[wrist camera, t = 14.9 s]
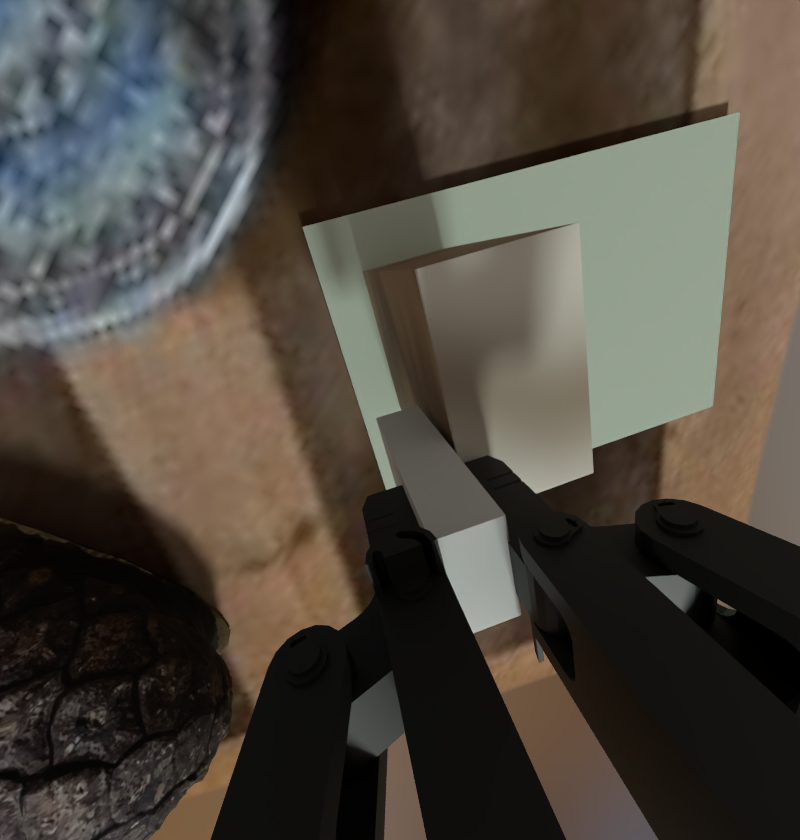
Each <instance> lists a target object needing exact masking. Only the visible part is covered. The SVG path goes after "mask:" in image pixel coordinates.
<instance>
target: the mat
mask: <svg viewBox="0 0 800 840" xmlns="http://www.w3.org/2000/svg"><path fill="white" fill-rule="evenodd" d="M739 114H740V112H738V113H735V114H731V115H727V116H723V117H719V118H716V119H712V120H708V121H704V122H700V123H697V124H693V125H689V126H685V127H681V128H677V129H674V130H670V131H666V132H662V133H658V134H655V135H651V136H647V137H643V138H639V139H636V140H632V141H628V142H624V143H620V144H617V145H613V146H609V147H605V148H601V149H597V150H594V151H590V152H586V153H582V154H578V155H575V156H571V157H567V158H563V159H559V160H556V161H552V162H548V163H544V164H540V165H537V166H533V167H529V168H525V169H521V170H517V171H514V172H510V173H506V174H502V175H498V176H495V177H491V178H487V179H483V180H479V181H476V182H472V183H468V184H464V185H460V186H457V187H453V188H449V189H445V190H441V191H437V192H434V193H430V194H426V195H422V196H418V197H415V198H411V199H407V200H403V201H399V202H396V203H392V204H388V205H384V206H380V207H377V208H373V209H369V210H365V211H361V212H357V213H354V214H350V215H346V216H342V217H338V218H335V219H331V220H327V221H323V222H319V223H316V224H312V225H308V226H304V227H303V231H304V234H305V237H306V240H307V243H308V246H309V250H310V253H311V256H312V259H313V262H314V265H315V268H316V271H317V275H318V278H319V281H320V284H321V287H322V290H323V293H324V297H325V300H326V303H327V306H328V309H329V312H330V315H331V319H332V322H333V325H334V328H335V331H336V334H337V337H338V341H339V344H340V347H341V350H342V353H343V356H344V359H345V363H346V366H347V369H348V372H349V375H350V378H351V381H352V384H353V388H354V391H355V394H356V397H357V400H358V403H359V406H360V410H361V413H362V416H363V419H364V422H365V425H366V428H367V432H368V435H369V438H370V441H371V444H372V447H373V450H374V454H375V457H376V460H377V463H378V466H379V469H380V472H381V475H382V479H383V482H384V485H385V488H386V490H388V489H391V488H394V487H396V485H395V481H394V478H393V475H392V471H391V468H390V464H389V461H388V457H387V454H386V451H385V447H384V444H383V440H382V437H381V433H380V430H379V427H378V423H377V420H376V418H378V417H381V416H384V415H388V414H391V413H394V412H397V411H401V408H400V405H399V402H398V398H397V394H396V391H395V387H394V384H393V380H392V376H391V373H390V369H389V365H388V362H387V358H386V355H385V351H384V347H383V344H382V340H381V337H380V333H379V329H378V326H377V322H376V319H375V315H374V311H373V308H372V304H371V301H370V297H369V293H368V290H367V286H366V283H365V279H364V275H363V271H367V270H370V269H374V268H377V267H381V266H384V265H388V264H391V263H395V262H398V261H402V260H405V259H409V258H412V257H416V256H419V255H423V254H426V253H430V252H433V251H437V250H440V249H444V248H449V247H454V246H459V245H465V244H470V243H475V242H480V241H485V240H490V239H496V238H501V237H506V236H511V235H516V234H522V233H527V232H532V231H537V230H542V229H547V228H553V227H558V226H563V225H568V224H573V223H578V222H579V224H580V242H581V260H582V278H583V295H584V313H585V331H586V349H587V366H588V384H589V402H590V420H591V438H592V448H595V447H598V446H601V445H603V444H606V443H609V442H612V441H615V440H618V439H621V438H623V437H626V436H629V435H632V434H635V433H638V432H641V431H643V430H646V429H649V428H652V427H655V426H658V425H661V424H663V423H666V422H669V421H672V420H675V419H678V418H681V417H683V416H686V415H689V414H692V413H695V412H698V411H701V410H703V409H706V408H709V407H712V406H713V398H714V387H715V376H716V365H717V354H718V343H719V332H720V321H721V310H722V299H723V289H724V278H725V267H726V256H727V245H728V234H729V223H730V212H731V201H732V190H733V179H734V168H735V157H736V146H737V135H738V125H739Z"/></svg>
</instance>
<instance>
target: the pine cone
mask: <svg viewBox="0 0 800 840" xmlns="http://www.w3.org/2000/svg"><path fill="white" fill-rule="evenodd" d="M229 635H230V629H229V628H228V626H227V625H226V623H225V622H224V620H223V619H222V617H221V616H220V615H219V613H218V612H216V611H215V610H214V609H212V608H211V607H210V606H209V605H208V604H207V603H206V602H204V601H203V600H202V599H201V598H199V597H198V596H197V595H195V594H194V593H192V592H190V591H188V590H186V589H184V588H182V587H180V586H178V585H176V584H174V583H171V582H169V581H166V580H164V579H162V578H160V577H158V576H157V575H155V574H153V573H151V572H149V571H147V570H145V569H142V568H140V567H138V566H136V565H134V564H132V563H130V562H127V561H125V560H123V559H121V558H118V557H114V556H111V555H108V554H104V553H101V552H98V551H94V550H91V549H88V548H85V547H83V546H80V545H78V544H75V543H72V542H70V541H67V540H65V539H62V538H59V537H56V536H53V535H51V534H48V533H45V532H42V531H39V530H36V529H34V528H30V527H26V526H24V525H21V524H18V523H15V522H12V521H9V520H6V519H3V518H0V840H148V839H149V838H150V837H151V835H153V834H154V832H156V831H157V830H158V829H160V827H161V825H162V823H163V822H164V820H165V818H166V817H167V815H168V814H169V813H170V811H171V810H173V809H174V808H175V807H176V806H177V804H178V802H179V800H180V799H181V798H182V797H183V796H184V795H185V794H186V792H187V790H188V789H189V788H190V787H191V786H192V785H193V784H194V783H197V782H200V781H202V780H203V779H204V777H205V775H206V774H207V772H208V769H209V765H210V763H211V761H212V759H213V758H214V756H215V754H216V752H217V749H218V747H219V744H220V742H221V740H222V739H224V738H225V737H226V735H227V733H228V732H229V730H230V721H231V718H232V708H231V706H232V701H233V693H232V691H231V688H232V678H231V676H230V674H229V670H228V668H227V666H226V664H225V662H224V660H223V659H222V658H221V656H220V654H221V653H222V652H223V651H224V649H225V648H226V647H227V646H228V642H229Z"/></svg>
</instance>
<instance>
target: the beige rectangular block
mask: <svg viewBox="0 0 800 840" xmlns="http://www.w3.org/2000/svg"><path fill="white" fill-rule="evenodd" d="M363 275H364V279H365V283H366V286H367V290H368V293H369V297H370V301H371V304H372V308H373V311H374V315H375V319H376V322H377V326H378V329H379V333H380V337H381V340H382V344H383V347H384V351H385V355H386V358H387V362H388V365H389V369H390V373H391V376H392V380H393V384H394V387H395V391H396V394H397V398H398V402H399V405H400V408H401V410H404V409H407V408H410V407H413V406H417V405H418V407H419V408H420V409H421V410H422V412H423V413H424V414H425V415H426V417H427V418H428V419H429V420H430V421H431V423H432V424H433V425H434V426H435V428H436V429H437V430H438V431H439V433H440V434H441V435H442V436H443V438H444V439H445V440H446V441H447V443H448V444H449V445H450V446H451V448H452V449H453V450H454V451H455V453H456V454H457V455H458V456H459V458H460V459H461V460H462V461H463V463H465V462H468V461H471V460H474V459H477V458H480V457H483V456H486V455H488V456H491V457H493V458H496V459H498V460H501V461H503V462H504V463H505V464H506V465H507V466H508V467H509V468H510V469H511V470H512V471H513V473H515V474H516V475H517V476H518V477H519V478H520V479H521V481H523V482H524V483H525V484H526V485H527V486H529V487H530V488H531V489H532V490H533V491H534V492H535V493H539V492H542V491H545V490H547V489H550V488H553V487H556V486H558V485H561V484H564V483H567V482H569V481H572V480H575V479H578V478H580V477H583V476H586V475H589V474H591V473H593V455H592V438H591V420H590V402H589V384H588V366H587V349H586V331H585V313H584V295H583V278H582V260H581V242H580V224H579V222H578V223H573V224H568V225H563V226H558V227H553V228H547V229H542V230H537V231H532V232H527V233H522V234H516V235H511V236H506V237H501V238H496V239H490V240H485V241H480V242H475V243H470V244H465V245H459V246H454V247H449V248H444V249H440V250H437V251H433V252H430V253H426V254H423V255H419V256H416V257H412V258H409V259H405V260H402V261H398V262H395V263H391V264H388V265H384V266H381V267H377V268H374V269H370V270H367V271H363Z"/></svg>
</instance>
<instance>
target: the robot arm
mask: <svg viewBox="0 0 800 840" xmlns="http://www.w3.org/2000/svg"><path fill="white" fill-rule="evenodd" d="M376 420H377V423H378V427H379V430H380V433H381V437H382V440H383V444H384V447H385V451H386V454H387V457H388V461H389V464H390V468H391V471H392V475H393V478H394V481H395V485H396V487H394V488H391V489H388V490H385V491H382V492H379V493H376V494H373V495H370V496H367V499H366V501H365V504H364V506H363V509H362V511H363V515H364V520H365V524H366V530H367V534H368V539H369V544H370V548H369V550H368V551H367V553H366V561H365V565H366V568H367V571H368V574H369V576H370V579H371V582H372V584H373V587H374V590H375V595H374V597H373V599H372V601H371V603H370V604H369V605H368V607H367V608H366V609H365V610H364V612H363V613H361V614H360V615H359V616H358V617H357V618H355V619H354V620H353V621H351V622H350V623H349V624H347V625H346V626H344V627H343V628H342V629H340V630H339V631H338V630H336V629H334V628H332V627H330V626H325V625H315V626H312V627H309V628H306V629H303V630H300V631H299V632H298V633H296V634H295V635H293V636H292V637H290V638H289V639H287V640H286V642H285V643H284V644H283V645H282V646H281V647H280V648H279V649H278V651H277V652H276V653H275V655H274V657H273V659H272V661H271V663H270V665H269V667H268V670H267V673H266V676H265V679H264V682H263V684H262V687H261V690H260V693H259V696H258V699H257V702H256V705H255V708H254V711H253V714H252V717H251V720H250V723H249V726H248V729H247V732H246V735H245V738H244V741H243V744H242V747H241V750H240V753H239V756H238V759H237V762H236V765H235V768H234V771H233V774H232V777H231V780H230V783H229V786H228V789H227V792H226V795H225V798H224V801H223V804H222V807H221V810H220V813H219V816H218V819H217V822H216V825H215V828H214V831H213V834H212V837H211V840H384V825H385V824H384V823H385V800H386V776H387V750H388V747H389V746H390V745H391V744H392V743H393V742H394V741H395V740H397V739H398V738H399V737H400V736H401V735H402V734H403V733H404V732H405V735H406V740H407V744H408V749H409V754H410V759H411V764H412V769H413V774H414V779H415V784H416V789H417V794H418V799H419V803H420V808H421V812H422V818H423V823H424V828H425V833H426V838H427V840H566V838H565V836H564V834H563V832H562V829H561V827H560V825H559V823H558V821H557V818H556V816H555V814H554V812H553V809H552V807H551V805H550V803H549V801H548V798H547V796H546V794H545V792H544V789H543V787H542V785H541V783H540V781H539V779H538V776H537V774H536V772H535V770H534V767H533V765H532V763H531V761H530V759H529V756H528V754H527V752H526V749H525V747H524V745H523V743H522V741H521V739H520V736H519V734H518V732H517V730H516V727H515V725H514V723H513V721H512V718H511V716H510V714H509V712H508V710H507V707H506V705H505V703H504V701H503V698H502V696H501V694H500V692H499V690H498V687H497V685H496V683H495V681H494V678H493V676H492V674H491V672H490V670H489V667H488V665H487V663H486V661H485V659H484V656H483V654H482V652H481V650H480V647H479V645H478V643H477V641H476V639H475V636H474V634H473V633H475V632H478V631H481V630H483V629H486V628H488V627H491V626H494V625H496V624H499V623H502V622H504V621H507V620H509V619H512V618H515V617H517V616H520V615H521V609H520V603H519V599H520V600H521V602H522V604H523V605H524V607H525V608H526V610H527V611H528V613H529V615H530V619H531V626H532V633H533V639H534V646H535V652H536V655H537V658H538V661H539V663H540V662H542V661H544V656H543V651H544V653H545V654H546V656H547V658H548V659H549V661H550V662H551V664H552V666H553V667H554V669H555V671H556V672H557V674H558V676H559V677H560V679H561V680H562V682H563V684H564V685H565V687H566V689H567V690H568V692H569V693H570V695H571V697H572V698H573V700H574V702H575V703H576V705H577V707H578V708H579V710H580V712H581V713H582V715H583V717H584V718H585V720H586V721H587V723H588V725H589V726H590V728H591V730H592V731H593V733H594V734H595V736H596V738H597V739H598V741H599V743H600V744H601V746H602V748H603V749H604V751H605V753H606V754H607V756H608V757H609V759H610V761H611V762H612V764H613V766H614V767H615V769H616V771H617V772H618V774H619V776H620V777H621V779H622V780H623V782H624V784H625V785H626V787H627V789H628V790H629V792H630V794H631V795H632V797H633V798H634V800H635V802H636V803H637V805H638V807H639V808H640V810H641V812H642V813H643V815H644V817H645V818H646V820H647V822H648V823H649V825H650V826H651V828H652V830H653V831H654V833H655V835H656V836H657V838H658V839H659V840H800V546H797V545H795V544H792V543H790V542H787V541H785V540H783V539H780V538H778V537H776V536H773V535H771V534H768V533H766V532H763V531H761V530H759V529H756V528H754V527H752V526H749V525H747V524H744V523H742V522H740V521H737V520H735V519H733V518H730V517H728V516H725V515H723V514H721V513H718V512H716V511H713V510H711V509H709V508H706V507H704V506H701V505H698V504H695V503H692V502H688V501H685V500H676V499H660V500H652V501H650V502H647V503H645V504H642V505H641V506H640V507H639V509H638V510H637V511H636V513H635V524H625V525H614V526H597V527H592V526H589V525H588V524H587V523H586V522H584V521H582V520H581V519H579V518H578V517H576V516H574V515H571V514H567V513H564V512H554V511H553V510H552V509H551V508H550V507H549V506H548V505H547V504H546V503H545V502H544V501H543V500H542V499H541V498H540V497H539V496H538V495H537V494H536V493H535V492H534V491H533V490H532V489H531V488H530V487H529V486H527V485H526V484H525V483H524V482H523V481H521V479H520V478H519V477H518V476H517V475H516V474H515V473H513V471H512V470H511V469H510V468H509V467H508V466H507V465H506V464H505V463H504V462H503V461H501V460H498V459H496V458H493V457H491V456H488V455H486V456H483V457H480V458H477V459H474V460H471V461H468V462H465V463H463V461H462V460H461V459H460V458H459V456H458V455H457V454H456V453H455V451H454V450H453V449H452V448H451V446H450V445H449V444H448V443H447V441H446V440H445V439H444V438H443V436H442V435H441V434H440V433H439V431H438V430H437V429H436V428H435V426H434V425H433V424H432V423H431V421H430V420H429V419H428V418H427V417H426V415H425V414H424V413H423V412H422V410H421V409H420V408H419V407H418V405H417V406H413V407H410V408H407V409H404V410H401V411H397V412H394V413H391V414H388V415H384V416H381V417H378V418H376ZM717 599H719V600H720V601H722V602H724V603H726V604H727V605H729V606H731V607H732V608H734V609H736V610H732V609H728V608H725V607H723V606H721V605H719V604H718V603H717Z"/></svg>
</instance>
